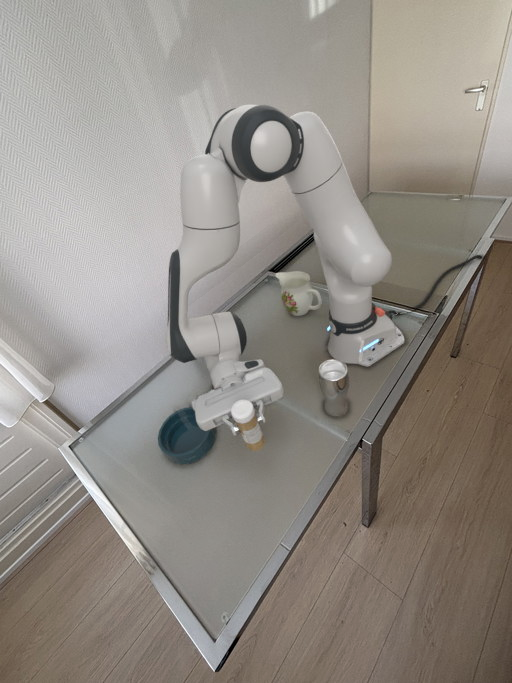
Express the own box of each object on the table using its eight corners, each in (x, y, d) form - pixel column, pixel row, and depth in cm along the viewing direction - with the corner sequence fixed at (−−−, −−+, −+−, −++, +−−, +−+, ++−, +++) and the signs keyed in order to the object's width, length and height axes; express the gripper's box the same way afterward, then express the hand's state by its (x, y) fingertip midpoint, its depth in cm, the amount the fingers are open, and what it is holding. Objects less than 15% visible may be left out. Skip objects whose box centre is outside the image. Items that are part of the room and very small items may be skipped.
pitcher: (314, 327, 108) (310, 294, 99) (273, 312, 119) (266, 281, 110) (331, 308, 113) (328, 275, 104) (290, 296, 124) (285, 265, 115)
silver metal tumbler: (350, 419, 81) (348, 381, 71) (322, 417, 83) (316, 381, 73) (349, 396, 85) (348, 358, 75) (323, 395, 87) (318, 358, 77)
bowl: (209, 409, 93) (204, 399, 89) (222, 451, 82) (216, 441, 79) (162, 429, 91) (155, 419, 88) (169, 474, 80) (160, 465, 77)
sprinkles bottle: (245, 435, 73) (229, 401, 64) (264, 431, 73) (251, 396, 64) (246, 454, 70) (230, 420, 61) (267, 449, 70) (254, 415, 61)
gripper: (185, 390, 73) (197, 440, 63) (267, 356, 75) (291, 398, 65) (195, 406, 77) (207, 455, 67) (272, 373, 79) (295, 416, 69)
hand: (249, 427), depth 66 cm, fingers closed on sprinkles bottle, 4 cm apart
